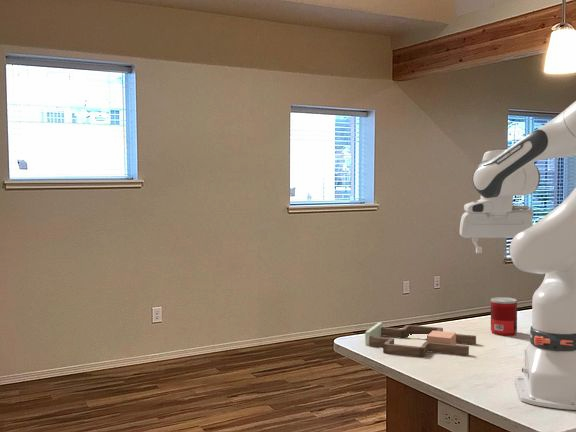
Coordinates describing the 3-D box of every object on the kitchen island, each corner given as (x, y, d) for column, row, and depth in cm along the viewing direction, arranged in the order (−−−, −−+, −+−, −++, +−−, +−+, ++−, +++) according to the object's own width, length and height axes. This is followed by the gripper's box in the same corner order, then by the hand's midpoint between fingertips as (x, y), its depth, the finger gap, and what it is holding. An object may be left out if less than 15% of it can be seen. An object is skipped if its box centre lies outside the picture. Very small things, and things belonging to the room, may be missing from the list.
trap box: (464, 361, 172) (464, 347, 172) (358, 349, 186) (358, 336, 185) (479, 338, 195) (479, 326, 195) (384, 330, 208) (384, 318, 208)
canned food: (520, 335, 198) (520, 301, 197) (495, 336, 198) (495, 302, 197) (512, 329, 205) (512, 296, 204) (487, 330, 205) (487, 297, 205)
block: (450, 351, 183) (450, 338, 182) (426, 349, 186) (426, 335, 186) (455, 345, 189) (455, 332, 189) (432, 343, 192) (432, 330, 192)
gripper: (530, 204, 182) (529, 251, 183) (458, 205, 183) (458, 251, 185) (536, 206, 176) (535, 254, 177) (462, 206, 177) (462, 254, 178)
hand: (495, 253), depth 181 cm, fingers open, 8 cm apart
